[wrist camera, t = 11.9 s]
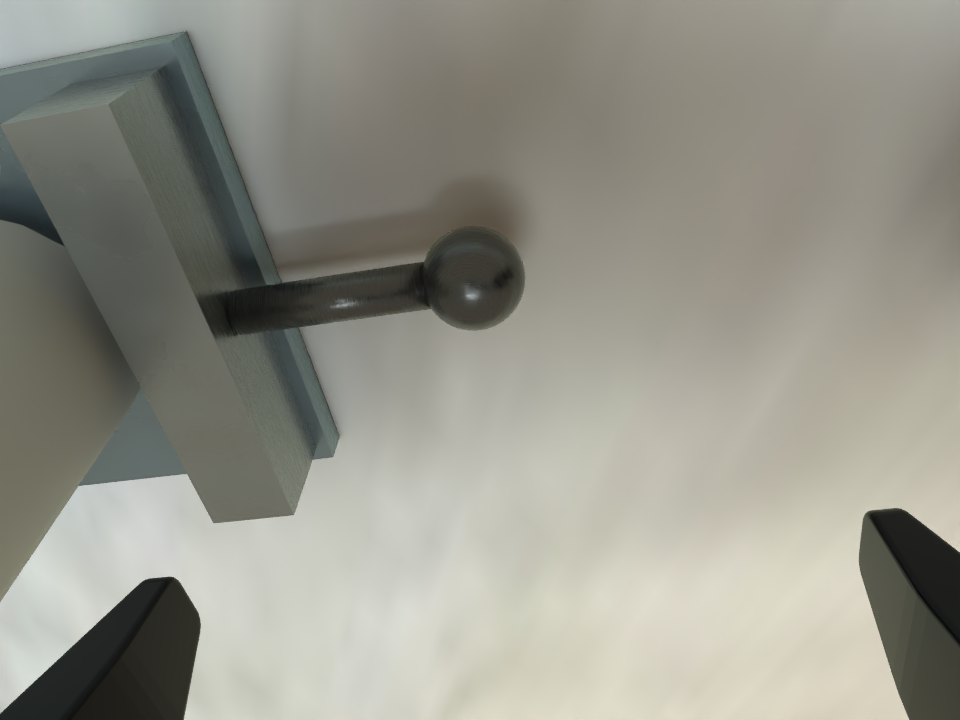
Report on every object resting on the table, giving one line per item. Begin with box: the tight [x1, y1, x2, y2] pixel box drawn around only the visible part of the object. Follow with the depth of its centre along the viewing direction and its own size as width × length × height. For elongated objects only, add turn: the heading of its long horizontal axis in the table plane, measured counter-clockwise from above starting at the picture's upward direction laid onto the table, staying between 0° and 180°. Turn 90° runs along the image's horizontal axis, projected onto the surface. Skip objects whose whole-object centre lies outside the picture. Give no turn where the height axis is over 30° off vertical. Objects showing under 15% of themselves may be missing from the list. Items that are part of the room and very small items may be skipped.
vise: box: [0, 32, 525, 523], centre depth 20 cm, size 22×13×7 cm, turn 101°
